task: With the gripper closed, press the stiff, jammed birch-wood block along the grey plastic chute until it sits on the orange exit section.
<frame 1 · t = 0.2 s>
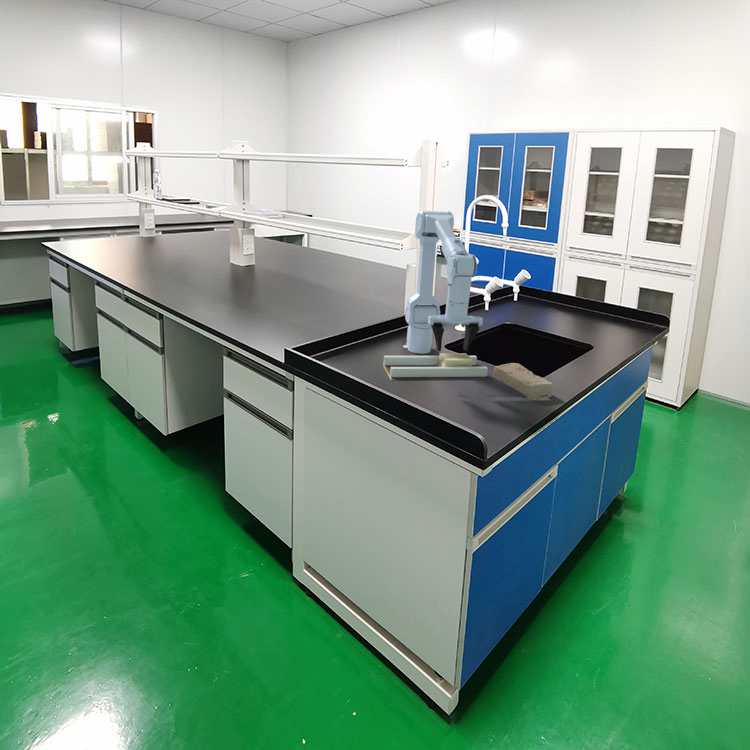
hand: (452, 350, 162), 10 cm above the table, tool pointing down, fingers open, 7 cm apart
chute: (434, 372, 173), on the table
brick: (521, 389, 167), on the table
block: (455, 363, 174), point 3 cm above the table, slide at 0.0 cm
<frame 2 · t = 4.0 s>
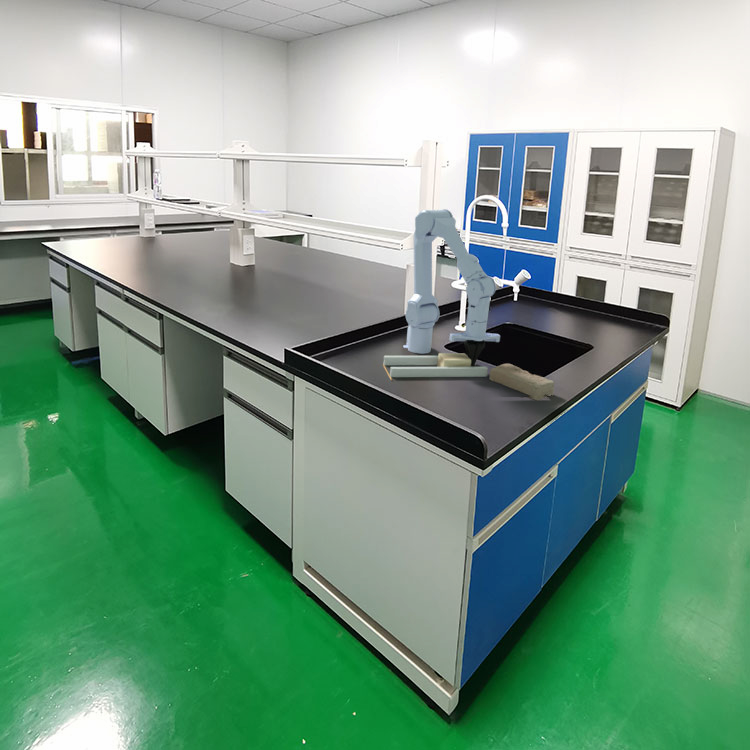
hand: (471, 364, 175), 2 cm above the table, tool pointing down, fingers closed
block: (453, 363, 174), point 3 cm above the table, slide at 0.3 cm, touching gripper
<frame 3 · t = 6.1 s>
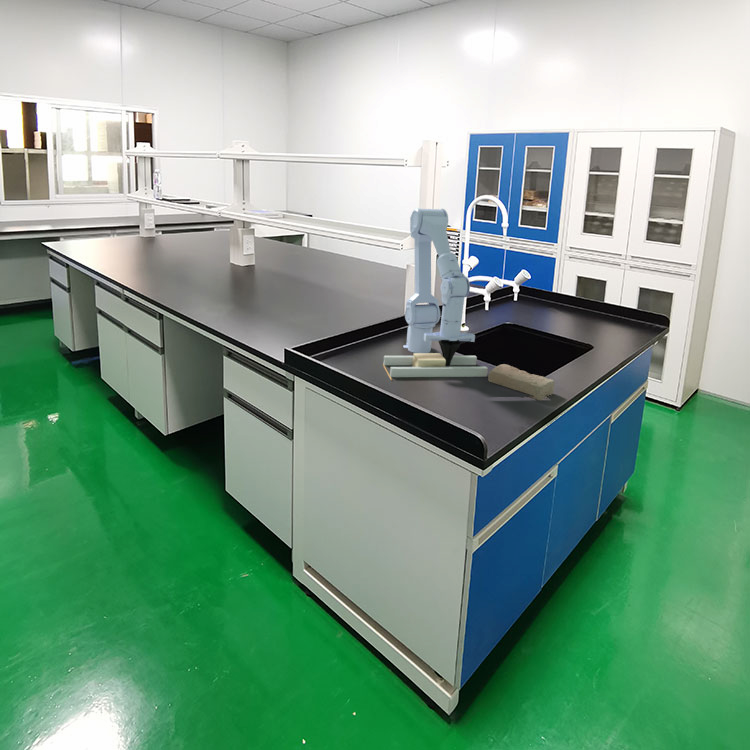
hand: (446, 364, 173), 2 cm above the table, tool pointing down, fingers closed
block: (428, 363, 172), point 3 cm above the table, slide at 7.9 cm, touching gripper
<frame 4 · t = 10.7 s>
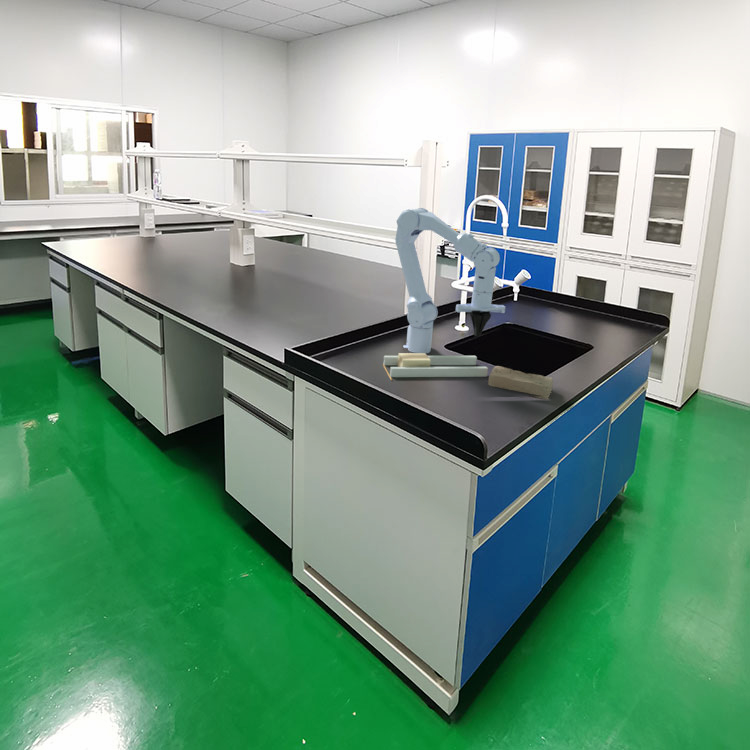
hand: (477, 335, 178), 9 cm above the table, tool pointing down, fingers closed
block: (413, 363, 171), point 3 cm above the table, slide at 12.3 cm
at the end: block slide at 12.3 cm; block inside the target area (0.8 cm from its centre), point 2.9 cm above the table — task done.
